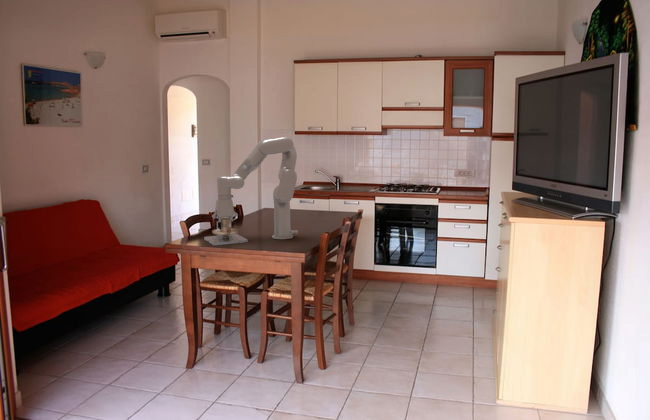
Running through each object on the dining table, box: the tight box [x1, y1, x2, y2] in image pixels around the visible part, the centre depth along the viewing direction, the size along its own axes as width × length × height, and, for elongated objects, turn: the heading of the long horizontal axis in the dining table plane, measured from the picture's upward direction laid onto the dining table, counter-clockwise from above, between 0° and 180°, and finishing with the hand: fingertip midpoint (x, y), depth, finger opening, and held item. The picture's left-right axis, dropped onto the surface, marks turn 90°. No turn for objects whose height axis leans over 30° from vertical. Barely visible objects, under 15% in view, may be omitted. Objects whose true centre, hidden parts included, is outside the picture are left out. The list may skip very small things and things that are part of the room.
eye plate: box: [203, 233, 249, 246], centre depth 327 cm, size 20×20×2 cm
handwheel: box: [211, 217, 239, 238], centre depth 326 cm, size 15×15×11 cm
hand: (225, 228), depth 326 cm, fingers open, 5 cm apart
